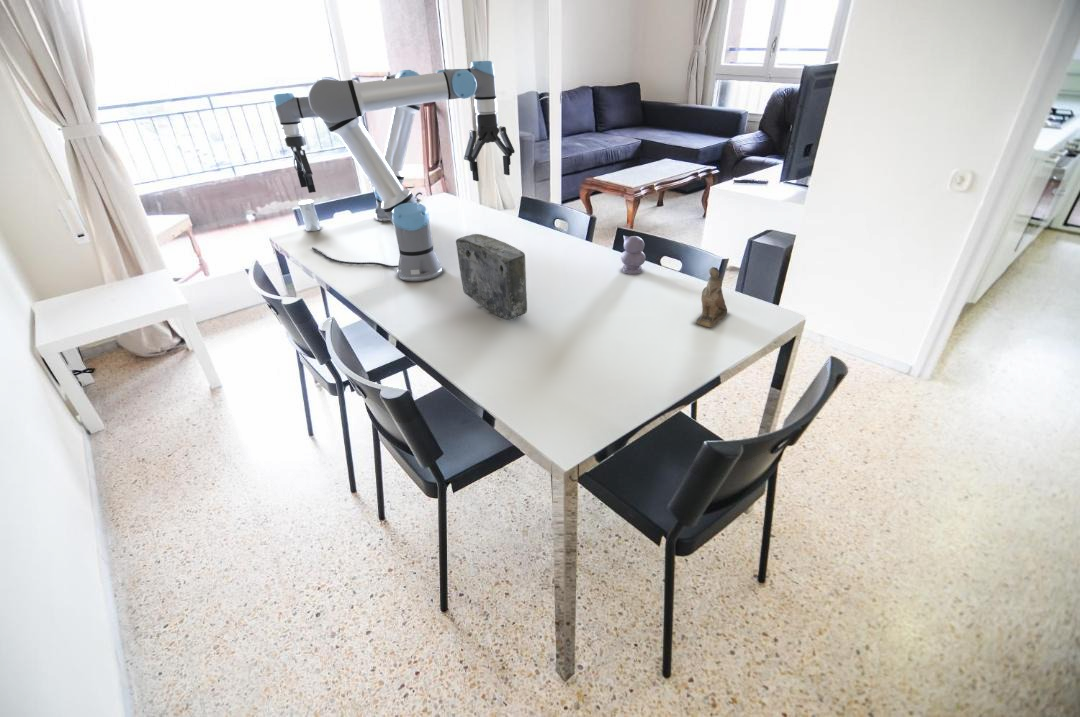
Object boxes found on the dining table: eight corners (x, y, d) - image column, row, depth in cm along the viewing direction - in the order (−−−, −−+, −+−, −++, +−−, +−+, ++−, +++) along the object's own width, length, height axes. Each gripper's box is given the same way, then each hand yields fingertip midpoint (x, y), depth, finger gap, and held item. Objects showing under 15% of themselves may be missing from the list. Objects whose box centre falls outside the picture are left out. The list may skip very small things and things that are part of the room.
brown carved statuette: (709, 335, 136) (713, 280, 124) (691, 329, 139) (693, 274, 128) (730, 313, 142) (736, 258, 130) (712, 307, 145) (716, 253, 133)
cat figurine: (649, 270, 171) (652, 236, 165) (636, 276, 167) (638, 242, 160) (628, 264, 176) (630, 231, 170) (615, 271, 172) (617, 237, 165)
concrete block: (534, 321, 142) (531, 253, 131) (508, 330, 137) (503, 261, 127) (486, 291, 160) (480, 231, 150) (462, 299, 156) (454, 237, 145)
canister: (304, 231, 225) (296, 204, 219) (308, 227, 231) (300, 200, 224) (318, 230, 226) (311, 203, 219) (322, 226, 231) (315, 199, 225)
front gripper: (509, 109, 179) (513, 170, 190) (449, 115, 166) (456, 181, 177) (522, 110, 174) (525, 173, 185) (460, 117, 161) (468, 184, 172)
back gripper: (277, 133, 208) (292, 186, 219) (290, 139, 190) (306, 196, 201) (296, 131, 211) (310, 183, 222) (311, 137, 194) (325, 193, 205)
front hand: (491, 177), depth 181 cm, fingers open, 13 cm apart
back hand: (308, 189), depth 212 cm, fingers open, 13 cm apart
